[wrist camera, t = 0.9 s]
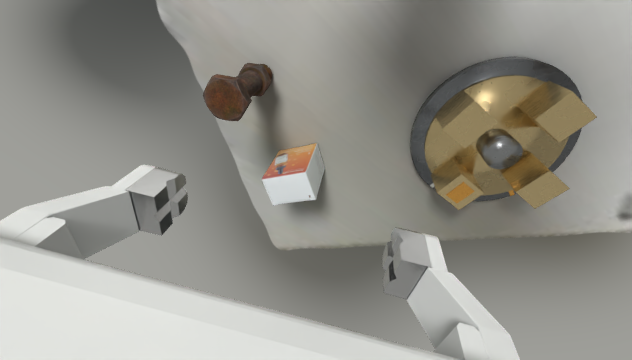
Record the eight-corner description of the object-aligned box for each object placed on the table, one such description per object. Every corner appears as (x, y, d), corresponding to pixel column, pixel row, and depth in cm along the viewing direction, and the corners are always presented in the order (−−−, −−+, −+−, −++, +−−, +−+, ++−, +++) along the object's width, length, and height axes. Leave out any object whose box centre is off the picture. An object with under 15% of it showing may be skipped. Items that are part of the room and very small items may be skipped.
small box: (317, 142, 51) (307, 171, 42) (325, 168, 54) (317, 200, 45) (278, 150, 53) (260, 179, 44) (287, 174, 56) (272, 206, 47)
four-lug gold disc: (509, 42, 37) (532, 49, 31) (598, 133, 41) (631, 153, 36) (398, 147, 47) (401, 165, 42) (478, 211, 51) (490, 235, 46)
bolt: (284, 84, 46) (253, 115, 34) (259, 95, 48) (220, 128, 36) (268, 49, 44) (227, 68, 31) (242, 62, 45) (194, 85, 33)
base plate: (508, 17, 37) (514, 18, 35) (612, 127, 42) (621, 132, 40) (380, 143, 49) (381, 147, 48) (472, 216, 54) (475, 222, 53)
